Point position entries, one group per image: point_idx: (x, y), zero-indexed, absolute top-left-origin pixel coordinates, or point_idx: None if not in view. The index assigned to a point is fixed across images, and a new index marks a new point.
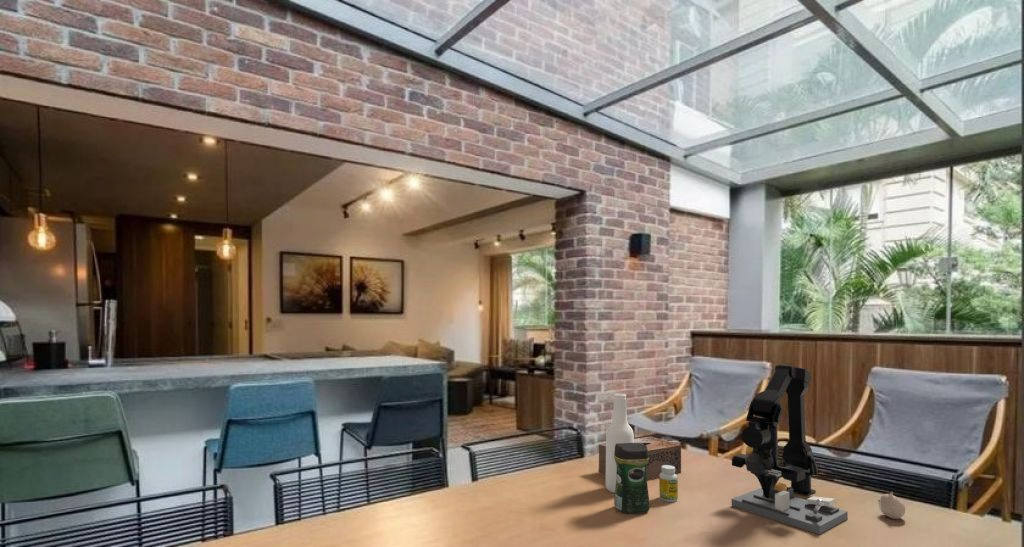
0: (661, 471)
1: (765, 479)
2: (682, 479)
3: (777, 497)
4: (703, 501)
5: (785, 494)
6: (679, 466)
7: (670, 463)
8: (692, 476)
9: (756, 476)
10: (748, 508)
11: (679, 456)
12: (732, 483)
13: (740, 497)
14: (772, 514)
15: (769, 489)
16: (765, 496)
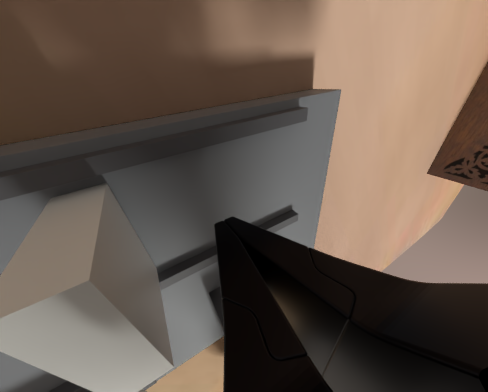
0: (485, 106)
1: (332, 344)
2: (429, 144)
3: (50, 267)
4: (395, 11)
5: (75, 373)
6: (449, 173)
7: (485, 146)
8: (411, 182)
9: (455, 288)
10: (250, 103)
11: (482, 183)
12: (353, 236)
13: (320, 151)
14: (89, 136)
15: (222, 279)
16: (232, 219)
